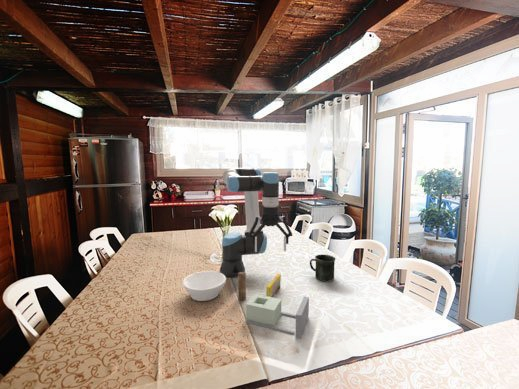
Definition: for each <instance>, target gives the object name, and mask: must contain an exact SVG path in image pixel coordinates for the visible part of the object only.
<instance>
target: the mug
mask: <svg viewBox="0 0 519 389" xmlns="http://www.w3.org/2000/svg"><path fill="white" fill-rule="evenodd" d="M335 261H336V257H335V256H332V255H329V254H317V255H315V257H314V258H312V259H310V260H309V267H310V269H311V270H312V271H314V272H315V274H314V275H315V278H316V279H317V280H319V281H321V282H332V281H333V280H335V263H336V262H335ZM312 262H315V268H314V266H313V263H312Z"/></svg>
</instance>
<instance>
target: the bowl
mask: <svg viewBox="0 0 519 389" xmlns="http://www.w3.org/2000/svg"><path fill="white" fill-rule="evenodd" d="M226 281H227V277H225V275H224V274H222V273H220V271H215V270H214V271H213V270H203V271H197V272H194V273H191V274H189V275H187V276H186V277H184V279H183V280H182V285H183V287H184V289H185V291H186V292H188V293H189V295H190V297H191V299H193V300H194V301H198V302H199V301H200V302H206V301H211V300H213V299H216V298H217V297H218V296H219V294H220V291H221V290H222V289H223V288H224V285H225V284H226Z"/></svg>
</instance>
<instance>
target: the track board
mask: <svg viewBox="0 0 519 389" xmlns="http://www.w3.org/2000/svg"><path fill="white" fill-rule="evenodd" d="M309 301H310V297H309V296H304V295H303V298H302V300H301V302H300V304H299V307H298V308H297V310H296V313H295V314H294V313H288V312H284V311H281V316H285V317H291V318H295V331H294V330H291V329H287V328H283V327H279V326H276V325H275V326H271V325H267V324H263V323H259V322H255V321H250V320H247V319H245V322H244V323H247V324H250V325H254V326H257V327H258V326H259V327H262V328H266V329H270V330H274V331H279V332H282V333H285V334H291V335H295V336H294V337H295V338H297V339H301V338H302V336H303V335H304V334H303V333H304V331H305V328H306V325H307V322H308V320H309V306H310V305H309V303H310V302H309Z"/></svg>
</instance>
